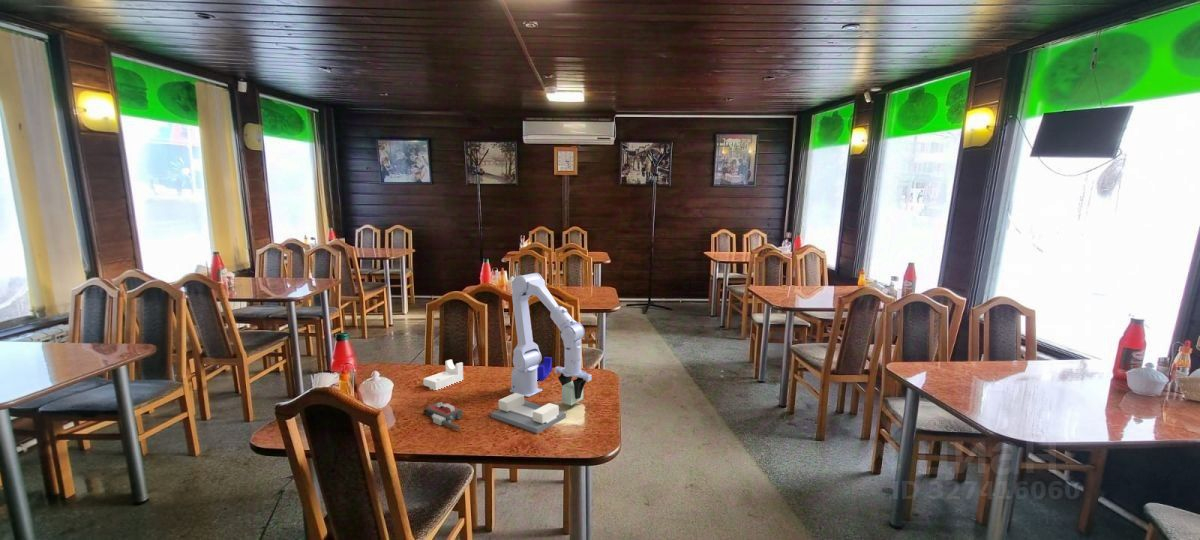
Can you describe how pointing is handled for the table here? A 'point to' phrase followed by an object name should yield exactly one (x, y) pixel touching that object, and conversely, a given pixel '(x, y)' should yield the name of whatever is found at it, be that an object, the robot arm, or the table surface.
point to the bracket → (445, 376)
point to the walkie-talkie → (443, 414)
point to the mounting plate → (527, 413)
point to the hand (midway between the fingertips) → (572, 396)
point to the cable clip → (544, 369)
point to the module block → (569, 394)
